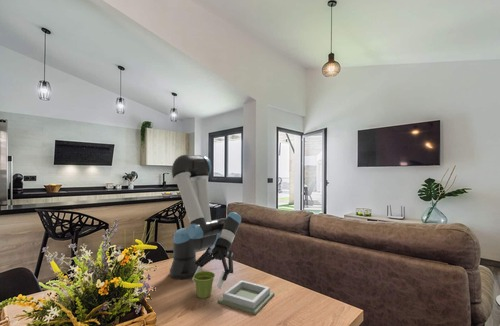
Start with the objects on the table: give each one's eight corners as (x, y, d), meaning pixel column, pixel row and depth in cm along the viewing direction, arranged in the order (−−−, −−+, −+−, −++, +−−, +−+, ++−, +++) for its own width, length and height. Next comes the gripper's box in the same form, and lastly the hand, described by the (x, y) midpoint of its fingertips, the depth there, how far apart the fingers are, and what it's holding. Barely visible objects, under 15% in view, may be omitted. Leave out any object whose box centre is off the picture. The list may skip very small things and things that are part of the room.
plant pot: (210, 301, 109) (210, 280, 109) (189, 299, 110) (189, 279, 111) (217, 291, 118) (217, 272, 118) (197, 289, 120) (198, 270, 120)
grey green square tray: (217, 302, 108) (217, 294, 108) (240, 285, 124) (240, 278, 124) (255, 314, 99) (255, 305, 99) (274, 294, 115) (274, 286, 115)
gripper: (249, 248, 123) (233, 293, 110) (207, 241, 135) (188, 282, 121) (244, 240, 118) (226, 286, 105) (201, 234, 130) (180, 275, 117)
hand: (206, 284), depth 113 cm, fingers open, 13 cm apart
